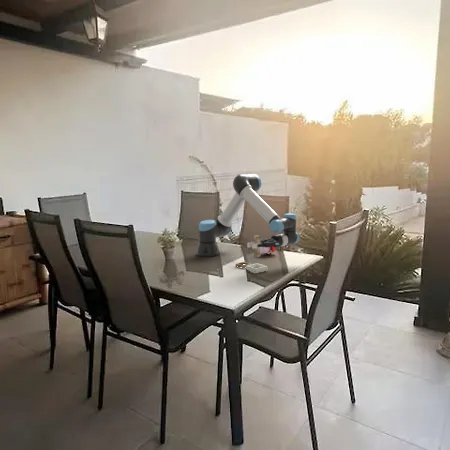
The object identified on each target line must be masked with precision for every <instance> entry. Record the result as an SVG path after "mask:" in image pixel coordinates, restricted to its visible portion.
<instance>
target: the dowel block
mask: <svg viewBox="0 0 450 450" xmlns="http://www.w3.org/2000/svg"><path fill="white" fill-rule="evenodd" d="M243 264H246V265H243ZM251 264H252V263H251V262H246V261H243V262H242V261H241V262H236V263H235V267H236V266H238V267H242V268H245V267H246V266H247V265H251ZM238 267H237V268H238ZM242 268H241V269H242Z"/></svg>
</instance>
